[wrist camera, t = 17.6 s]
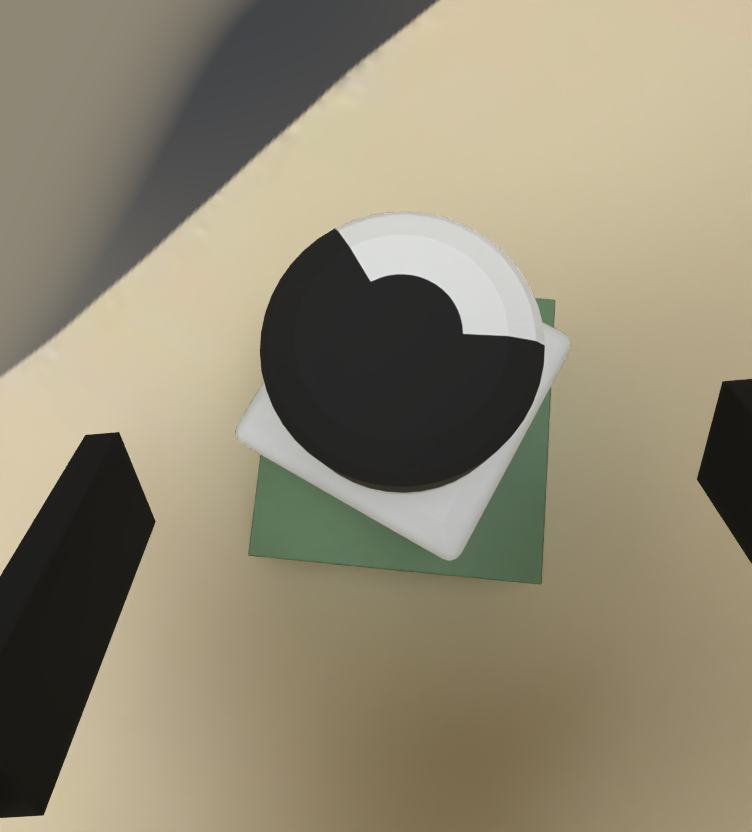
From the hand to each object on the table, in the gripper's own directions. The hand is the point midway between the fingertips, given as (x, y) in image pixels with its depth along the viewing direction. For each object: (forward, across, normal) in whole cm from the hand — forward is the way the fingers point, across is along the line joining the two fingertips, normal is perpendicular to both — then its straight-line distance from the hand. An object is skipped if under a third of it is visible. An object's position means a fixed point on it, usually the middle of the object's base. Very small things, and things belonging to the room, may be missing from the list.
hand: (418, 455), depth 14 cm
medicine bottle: (+9, 0, -6) cm, 10 cm away
